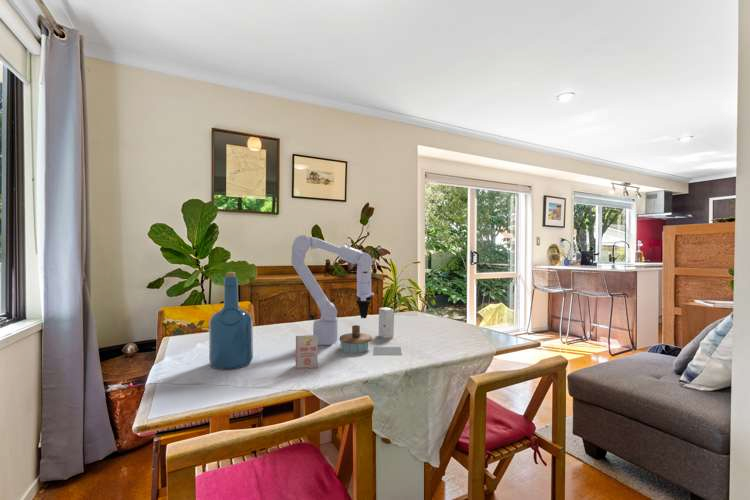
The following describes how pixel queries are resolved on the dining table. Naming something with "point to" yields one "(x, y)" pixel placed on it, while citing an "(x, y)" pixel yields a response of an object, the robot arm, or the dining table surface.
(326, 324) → the robot arm
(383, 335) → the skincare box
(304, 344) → the beige printed carton
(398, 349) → the mat
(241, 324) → the wine bottle
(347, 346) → the bowl
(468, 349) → the dining table surface
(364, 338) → the lid
